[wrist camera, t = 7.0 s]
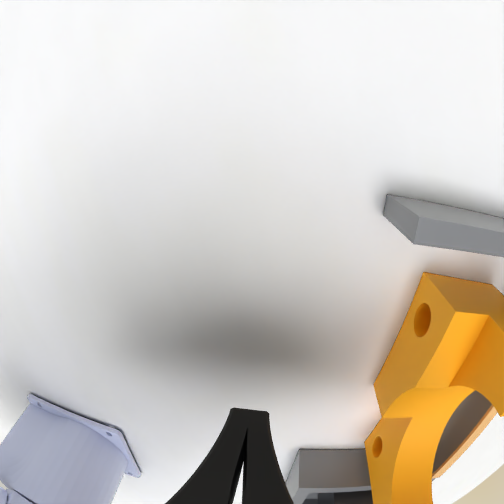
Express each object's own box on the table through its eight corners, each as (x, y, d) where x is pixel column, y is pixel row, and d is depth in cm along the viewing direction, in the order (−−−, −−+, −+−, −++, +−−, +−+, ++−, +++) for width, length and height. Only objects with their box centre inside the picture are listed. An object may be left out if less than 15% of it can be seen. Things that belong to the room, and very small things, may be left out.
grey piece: (281, 491, 19) (277, 546, 14) (366, 191, 10) (433, 245, 5) (388, 487, 19) (395, 537, 13) (536, 227, 10) (610, 275, 5)
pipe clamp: (422, 270, 11) (500, 374, 5) (490, 282, 11) (567, 366, 5) (338, 440, 16) (345, 529, 10) (398, 439, 16) (414, 519, 10)
